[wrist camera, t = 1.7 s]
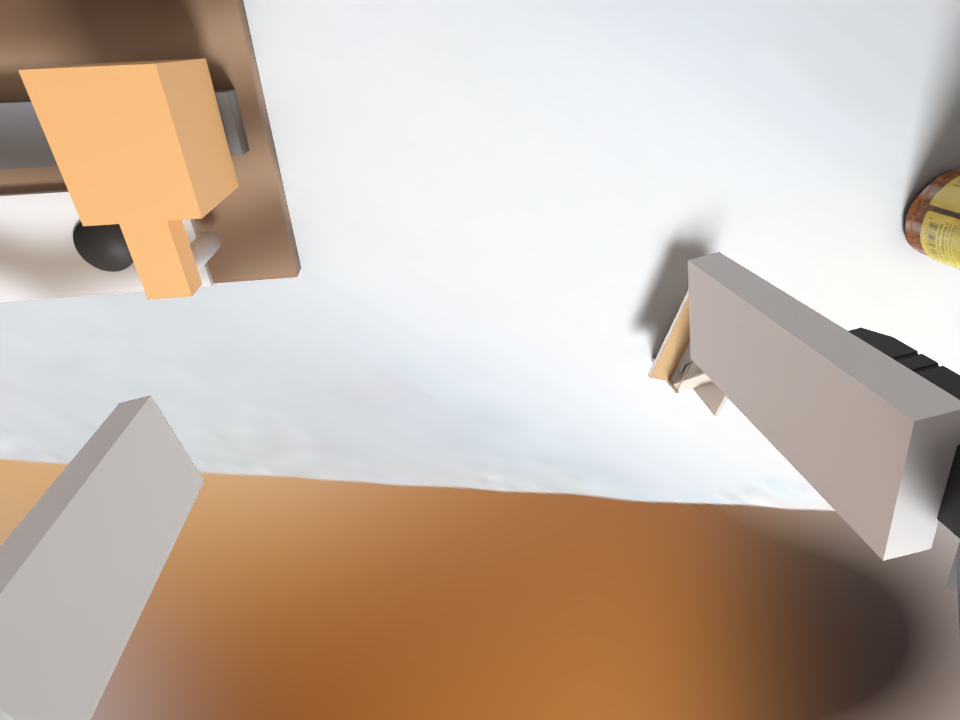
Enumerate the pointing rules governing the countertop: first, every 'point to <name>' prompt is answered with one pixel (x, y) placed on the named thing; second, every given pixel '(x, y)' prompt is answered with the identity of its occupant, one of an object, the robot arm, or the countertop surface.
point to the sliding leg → (140, 157)
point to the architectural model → (684, 363)
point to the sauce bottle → (937, 220)
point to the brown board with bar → (39, 183)
